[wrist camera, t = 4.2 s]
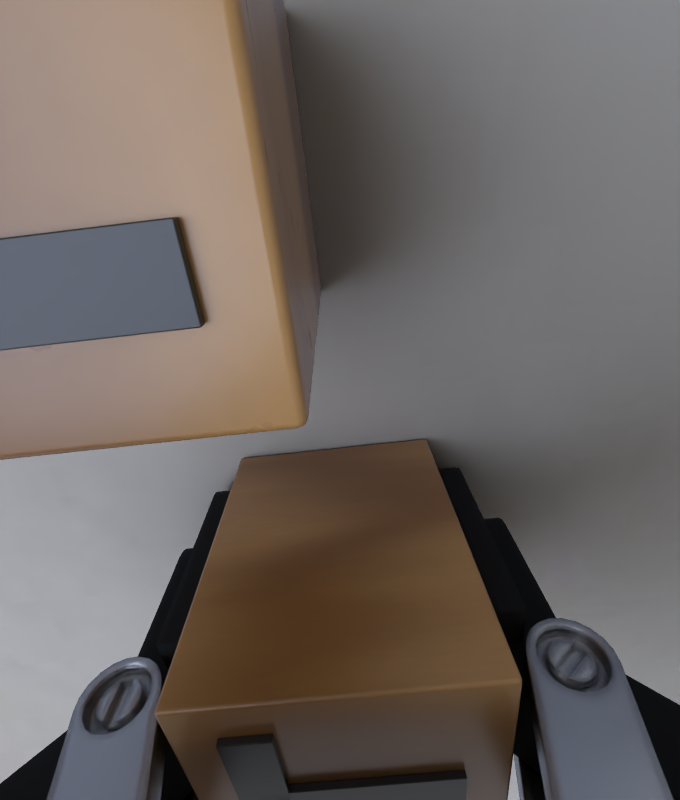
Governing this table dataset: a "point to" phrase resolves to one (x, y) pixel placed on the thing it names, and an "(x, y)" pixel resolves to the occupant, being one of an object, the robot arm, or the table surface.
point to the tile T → (342, 640)
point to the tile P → (151, 225)
